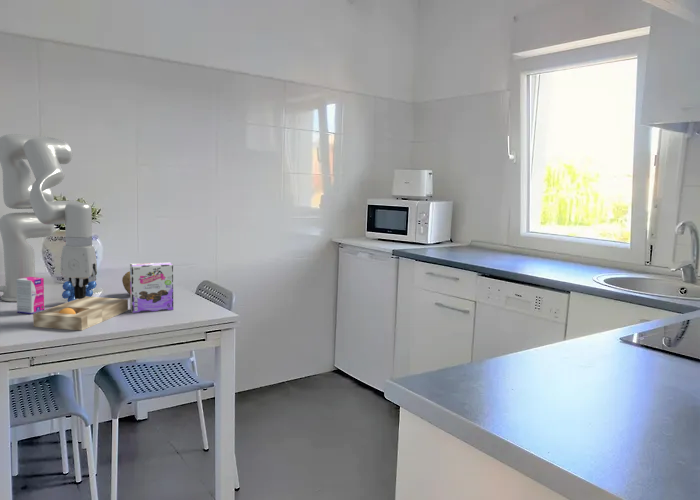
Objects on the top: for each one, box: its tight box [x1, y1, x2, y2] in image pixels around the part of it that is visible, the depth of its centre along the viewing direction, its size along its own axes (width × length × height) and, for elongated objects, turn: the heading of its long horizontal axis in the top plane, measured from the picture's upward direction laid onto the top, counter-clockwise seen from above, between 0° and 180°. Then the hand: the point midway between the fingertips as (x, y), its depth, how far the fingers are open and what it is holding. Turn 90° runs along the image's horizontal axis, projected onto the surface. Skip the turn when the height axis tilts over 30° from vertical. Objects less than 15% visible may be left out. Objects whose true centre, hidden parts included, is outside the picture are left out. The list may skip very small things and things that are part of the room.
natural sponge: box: [121, 270, 130, 295], centre depth 206 cm, size 9×9×10 cm
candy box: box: [129, 261, 174, 314], centre depth 185 cm, size 14×6×16 cm, turn 117°
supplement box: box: [16, 276, 45, 315], centre depth 177 cm, size 6×6×12 cm
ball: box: [59, 308, 76, 314], centre depth 165 cm, size 5×5×5 cm
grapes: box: [61, 277, 97, 302], centre depth 190 cm, size 12×7×12 cm, turn 134°
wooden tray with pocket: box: [32, 296, 129, 331], centre depth 172 cm, size 16×25×4 cm, turn 172°
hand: (80, 297), depth 170 cm, fingers closed
